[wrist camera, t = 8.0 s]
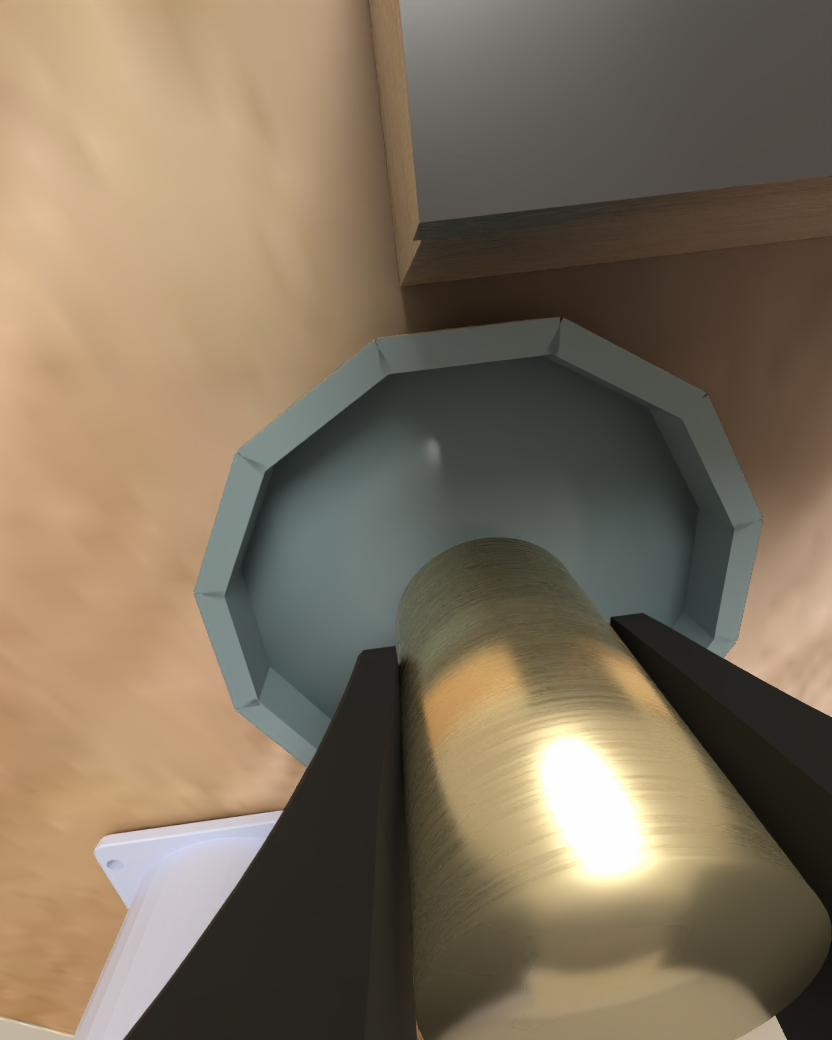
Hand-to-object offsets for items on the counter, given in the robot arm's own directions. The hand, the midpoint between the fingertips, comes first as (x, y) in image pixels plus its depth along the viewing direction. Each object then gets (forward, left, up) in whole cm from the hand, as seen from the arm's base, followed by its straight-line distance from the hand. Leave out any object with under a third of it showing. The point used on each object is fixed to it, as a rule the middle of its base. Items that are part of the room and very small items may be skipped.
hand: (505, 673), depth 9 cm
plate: (0, 0, -4) cm, 4 cm away
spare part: (0, 0, -1) cm, 1 cm away
